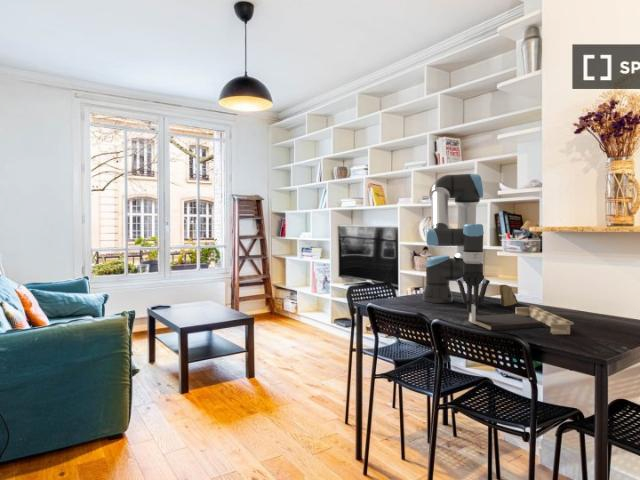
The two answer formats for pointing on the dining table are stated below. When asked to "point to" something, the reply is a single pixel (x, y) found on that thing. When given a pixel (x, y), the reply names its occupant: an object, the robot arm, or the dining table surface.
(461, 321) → the dining table surface
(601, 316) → the dining table surface
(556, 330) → the beige notched bar
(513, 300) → the rock
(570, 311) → the dining table surface
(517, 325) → the hardcover book
